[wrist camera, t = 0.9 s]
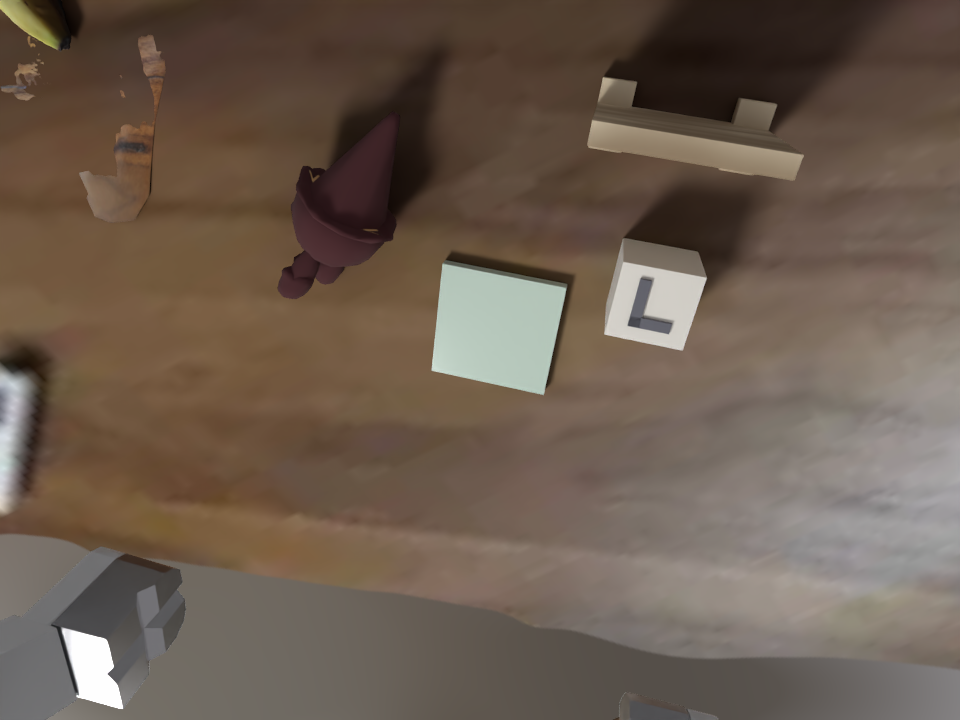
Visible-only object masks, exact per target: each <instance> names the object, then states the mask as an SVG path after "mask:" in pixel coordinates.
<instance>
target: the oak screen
mask: <svg viewBox="0 0 960 720" xmlns="http://www.w3.org/2000/svg"><path fill="white" fill-rule="evenodd" d="M636 85H637V82H636V81H630V80H624V79H617V78H611V77H605V76H603V80H602V85H601V90H600V95H599V100H598V104H597V107H596V110H595V114H594V117H593V120H592V125H591V129H590V134H589V139H588V144H587V146H589V148H594V149H600V150H606V151H612V152H618V153H621V151H622V152H628V153H634V154H639V155H645V156H651V157H657V158H663V159H669V160H675V161H681V162H687V163H692V164H698V165H704V166H710V167H716V168H718V169H719V170H723V171H729V172H735V173H741V174H747V175H753V174H757V175H763V176H769V177H775V178H781V179H787V180H792V181H794V180H795V177H796V174H797V172H798V169H799V166H800V164H801V161H802V159H803V156H804V155H803V154H802V153H800V152H799V151H797V150H796V149H794V148H793V147H791V146H790V145H789V144H787V143H786V142H784V141H783V140H781V139H780V138H779V137H777V136H776V135H774V134H773V133H771V132H770V131H768V130H769V127H770V125H771V122H772V119H773V116H774V113H775V110H776V107H777V104H775V103H770V102H764V101H758V100H751V99H745V98H738V101H737V104H736V108H735V111H734V114H733V117H732V120H731V122H724V121H718V120H712V119H706V118H700V117H693V116H687V115H681V114H675V113H669V112H662V111H656V110H650V109H644V108H638V107H632V102H633V98H634V94H635V89H636Z"/></svg>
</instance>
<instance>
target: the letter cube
mask: <svg viewBox="0 0 960 720" xmlns="http://www.w3.org/2000/svg"><path fill="white" fill-rule="evenodd" d="M706 279H707V276H706V274H705V271H704V268H703V265H702V262H701V259H700V256H699V253H698V252H697V251H692V250H686V249H681V248H676V247H670V246H665V245H659V244H654V243H649V242H643V241H638V240H633V239H627V238H623V241H622V244H621V248H620V252H619V256H618V260H617V264H616V268H615V272H614V276H613V280H612V284H611V288H610V292H609V296H608V300H607V304H606V316H605V333H604V334H605V335H609V336H614V337H619V338H624V339H629V340H634V341H639V342H643V343H648V344H653V345H658V346H663V347H668V348H673V349H678V350H682V351H683V348H684V345H685V342H686V339H687V336H688V333H689V330H690V327H691V324H692V321H693V318H694V315H695V312H696V309H697V306H698V303H699V300H700V297H701V294H702V291H703V288H704V285H705V282H706Z"/></svg>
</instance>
